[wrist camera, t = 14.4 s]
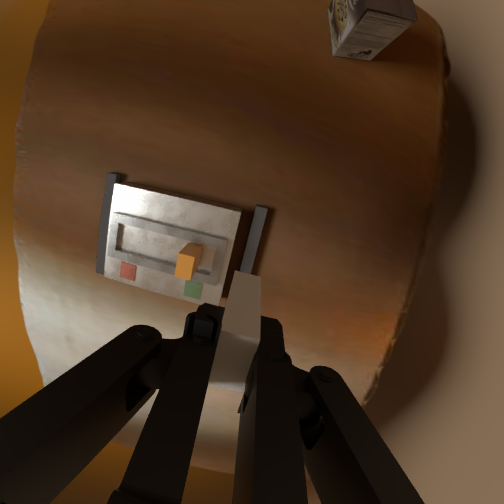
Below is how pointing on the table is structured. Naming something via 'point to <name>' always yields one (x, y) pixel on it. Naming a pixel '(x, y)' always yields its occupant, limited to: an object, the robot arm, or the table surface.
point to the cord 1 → (105, 220)
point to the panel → (169, 241)
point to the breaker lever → (188, 261)
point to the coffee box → (367, 25)
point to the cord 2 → (253, 239)
